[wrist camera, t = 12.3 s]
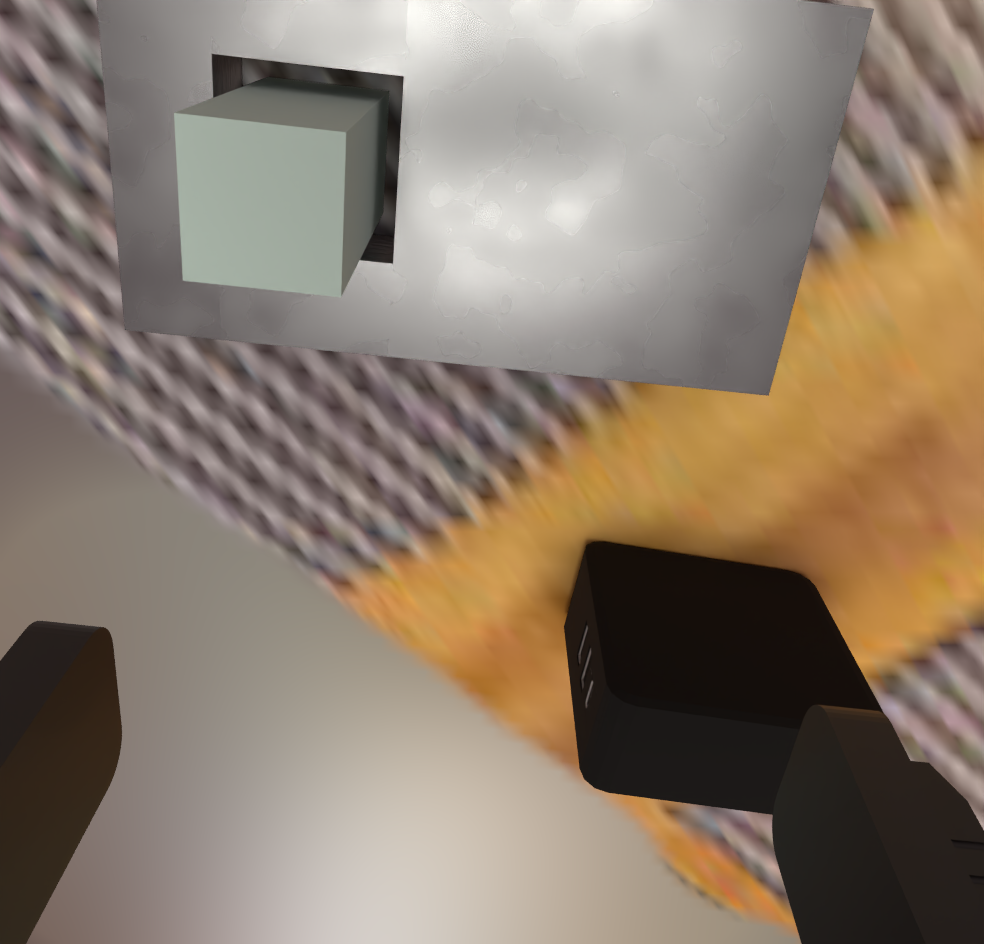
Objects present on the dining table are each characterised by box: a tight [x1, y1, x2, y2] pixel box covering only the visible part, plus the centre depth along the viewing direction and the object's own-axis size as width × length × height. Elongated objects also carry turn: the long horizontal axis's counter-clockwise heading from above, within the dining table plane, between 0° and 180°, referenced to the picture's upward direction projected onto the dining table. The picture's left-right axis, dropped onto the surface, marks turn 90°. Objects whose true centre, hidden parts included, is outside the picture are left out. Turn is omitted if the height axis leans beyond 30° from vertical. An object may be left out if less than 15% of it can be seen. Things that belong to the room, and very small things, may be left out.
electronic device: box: [564, 542, 884, 815], centre depth 35 cm, size 4×10×10 cm, turn 80°
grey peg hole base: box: [97, 0, 874, 396], centre depth 30 cm, size 22×12×4 cm, turn 84°
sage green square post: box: [174, 77, 389, 297], centre depth 27 cm, size 4×4×10 cm
